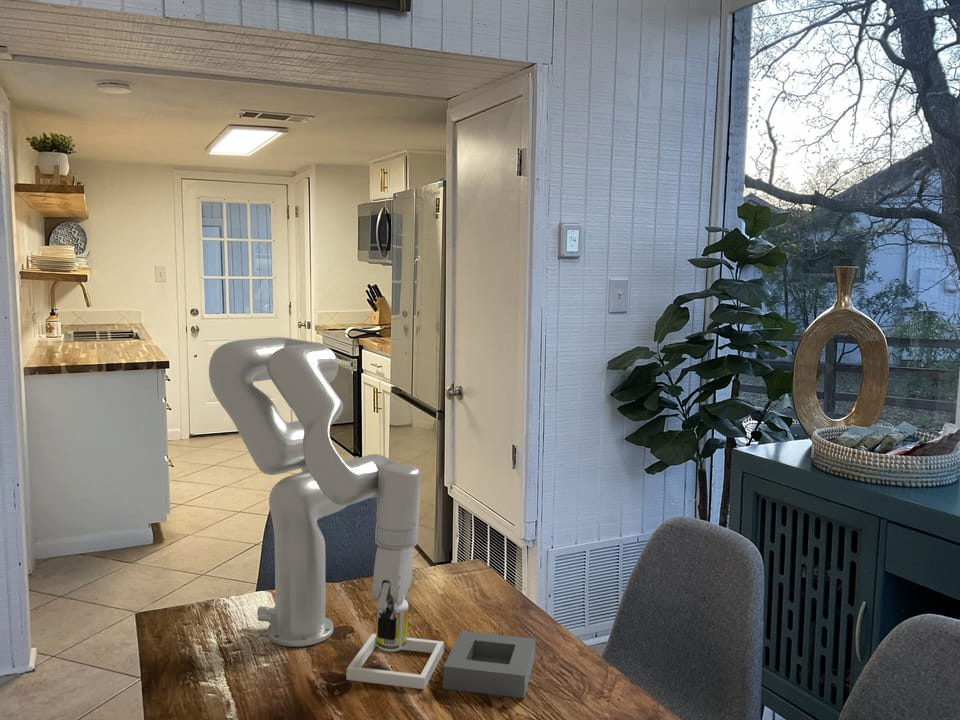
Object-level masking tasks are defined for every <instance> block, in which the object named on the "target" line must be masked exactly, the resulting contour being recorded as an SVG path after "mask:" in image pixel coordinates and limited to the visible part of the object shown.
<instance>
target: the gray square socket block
mask: <svg viewBox="0 0 960 720" xmlns="http://www.w3.org/2000/svg"><path fill="white" fill-rule="evenodd" d="M535 660H536V638H531V637H522V636H521V637H520V636H513V635H502V634H495V633H484V632H477V631H476V632H474V631H466V630H461V631H460V632H459V635H457V638H456V640H455V642H454V643H453V646H452V647H451V651H450V652H449V654H448V656H447V659H446V660H445V662H444V664H443V672H442V673H443V675H442V679H443V680H442V688H443V689H444V690H451V691H462V692H468V693H478V694H486V695H491V696H493V695H494V696H502V697H509V698H516V699H525V697H526V695H527V691H528V686H529V682H530V678H531V674H532V672H533V667H534V665H535Z"/></svg>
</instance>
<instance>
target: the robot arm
mask: <svg viewBox="0 0 960 720" xmlns="http://www.w3.org/2000/svg"><path fill="white" fill-rule="evenodd" d="M208 366H209V367H208V378H209V384H210V386H211V390H212V392H213V394H214V396H215V397H216V400H218V403H219V404H220V405H221V406H222V408H223V409H224V411H225V412H226V413H227V415H228V416H229V418H231V421H232V422H233V424H234V425H235V428H236V430H237V432H238V434H239V436H240V439H242V441H243V443H244V446H245V447H246V449H247V451H248V452H249V455H250V456H251V458H252V460H253V462H254V463H255V465H256V466H257V468H258V469H259V471H260V472H261V473H263V474H265V475H267V476H268V475H269V476H276V475H282V474H285V473H288V472H292V471H296V470H301V472H298V473H294V474H290V475H288V476H286V477H284V478H282V479H280V480H279V481H277V482H276V484H275V485H274V486H273V487H272V488H271V490H270V493H269V497H268V498H269V499H268V504H269V512H270V516H271V521H272V526H273V536H274V571H275V572H274V582H275V583H274V584H275V585H274V586H275V587H274V592H275V593H274V594H275V596H274V603H275V606H274V607H269V606H259V607H258V609H257V614H256V615H257V621H258V622H268V623H269V625H268V627H267V629H266V633H267V636H266V637H267V639H269V641H271V642H272V643H274V644H276V645H280V646H283V647H293V648H295V647H308V646H312V645H316V644H320V643H322V642H324V641H326V640H327V639H328V638H329V637H331V636H332V635H333V633H334V623H333V621H332V620H331V619H330V618H328V617H326V542H325V537H324V535H323V533H322V531H321V529H320V527H319V525H318V520H319V519H323V518H324V517H327V516H329V515H332V514H335V513H337V512H340V511H342V510H343V509H346V507H347V506H350V505H354V504H356V503H360V502H362V501H365V500H368V499H373V498H376V499H377V500H376V515H375V516H376V519H375V537H374V539H375V541H374V542H375V544H376V545H377V548H376V553H375V559H374V566H373V576H372V586H371V600H372V601H374V602H376V601H378V602H379V603H378V602H377V606H378V607H376V610H377V609H378V633H377V636H378V638H382V639H388V640H394V639H395V637H396V620H397V618H395V611H396V604H397V602H399V601H400V600H401V598H402V597H403V595H404V594H405V600H406V601H407V602H408V590H409V588H410V587H411V584H412V580H413V570H414V569H413V568H414V547H416V546H417V545H418V542H419V541H418V540H419V523H420V521H419V520H420V503H421V488H422V485H421V484H422V473H421V470H420V469H419V468H418V467H417V466H415V465H412V464H409V463H400V462H399V463H398V462H397V461H395V460H392V459H390V457H387V456H385V455H382V454H377V453H373V454H368V455H364V456H361V457H356V458H353V459H349V460H346V461H344V460H343V459H342V457H341V456H340V455H339V453H338V452H337V450H336V447H334V444H333V442H332V439H331V436H330V427H331V426H332V425H333V424H334V423H335V422H336V421H337V420H338V419H339V417H340V416H341V415H342V413H343V411H344V403H343V400H341V398H340V397H339V396H338V394H337V393H336V391H335V389H334V388H333V387H332V385H331V384H330V383H331V382H333V381H334V380H335V378H336V377H337V375H338V372H339V362H338V358H337V356H336V355H335V353H334V352H333V350H332V349H331V348H329V347H328V346H327V345H325V344H323V343H319V342H314V341H308V340H302V339H301V340H300V339H296V338H289V337H280V336H277V337H276V336H272V337H263V338H247V339H237V340H232V341H229V342H226V343H224V344H221V345H220V346H219V347H217V348H216V349H215V350H214V351H213V353H212V355H211V357H210V361H209V365H208ZM269 380H271V381H272V383H273V384H274V386H275V388H276V389H277V390H278V392H279V393H280V395H281V397H282V398H283V400H284V401H285V402H286V404H287V405H288V407H289V408H290V410H291V411H292V413H293V414H294V416H295V418H296V420H294V421H290V422H289V421H286V420H285V419H284V418H283V417H282V415H281V414H280V412H279V411H278V409H277V407H276V404H275V403H274V401H272V399H271V398H270V397H269V396H268V395H267V394H266V393H265V392H264V391H262V390H261V389H259V388H258V387H256V386H255V385H254V382H262V381H269ZM389 597H393V598H394V599H393V600H388V598H389ZM387 604H392V608H391V610H390V608H387V607H388V606H387Z"/></svg>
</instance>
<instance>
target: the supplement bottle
mask: <svg viewBox="0 0 960 720" xmlns="http://www.w3.org/2000/svg"><path fill="white" fill-rule="evenodd" d="M393 599H394V598H393V597H389V598H388V600H393ZM378 603H379V601H378V602H377V604H378ZM387 606H388V607H387V608H390V610H391V608H392V604H387ZM377 607H378V605H377ZM377 607H376V610H377V611H376V631H375V634H376V644H377V646H378V647H377V648H379V649H380V650H381V651H385V652H398V651H401V649H403V648H404V647H405V646H406V643H407V637H408V626H409V625H408V620H409V602H408V600H407V601H406V600H405V594H404V595H403V597H402V598H401V600H400V601H399V602H397V604H396V611H395V618H397V620H396V637H395V639H394V640H388V639H382V638H378V636H377V633H378V609H377Z"/></svg>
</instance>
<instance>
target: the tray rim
mask: <svg viewBox="0 0 960 720" xmlns="http://www.w3.org/2000/svg"><path fill="white" fill-rule="evenodd" d="M375 648H379V647H378V646H377V644H376V633H372V634H371V635H370V636H369V638H368V639H367V640H366V642H365V643H364V644H363V645H362V647H361V648H360V650H359V651H358V653H357V654H356V655H355V656H354V658H353V659H352V661H351V662H350V663H349V665H348V666H347V668H346V680H348V681H355V682H361V683H362V682H364V683H371V684H379V685H387V686H388V685H389V686H395V687H402V688H403V687H404V688H411V689H419V690H426V687H428V683H429V681H430V680H431V677H432V676H433V674H434V672H435V669H436V668H437V666H438V664H439V662H440V661H441V658H442V657H443V654H444V652H445V641H440V640H433V639H423V638H415V637H408V636H407V643H406V646H405V647H404V648H403V649H401V650H402V651H412V652H421V653H428V654H429V653H430V654H431V655H430V656H429V659H428V661H426V663H425V665H424V667H423V670H422V671H421V673H420V674H417V673H411V672H410V673H409V672H408V673H407V672H402V671H401V672H400V671H392V670H386V669H385V670H384V669H377V668H367V667H363V665H364V664H365V663H366V662H367V659H368V658H369V657H370V656H371V654H372V653H373V651H374V650H375ZM401 650H400V651H401Z"/></svg>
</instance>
